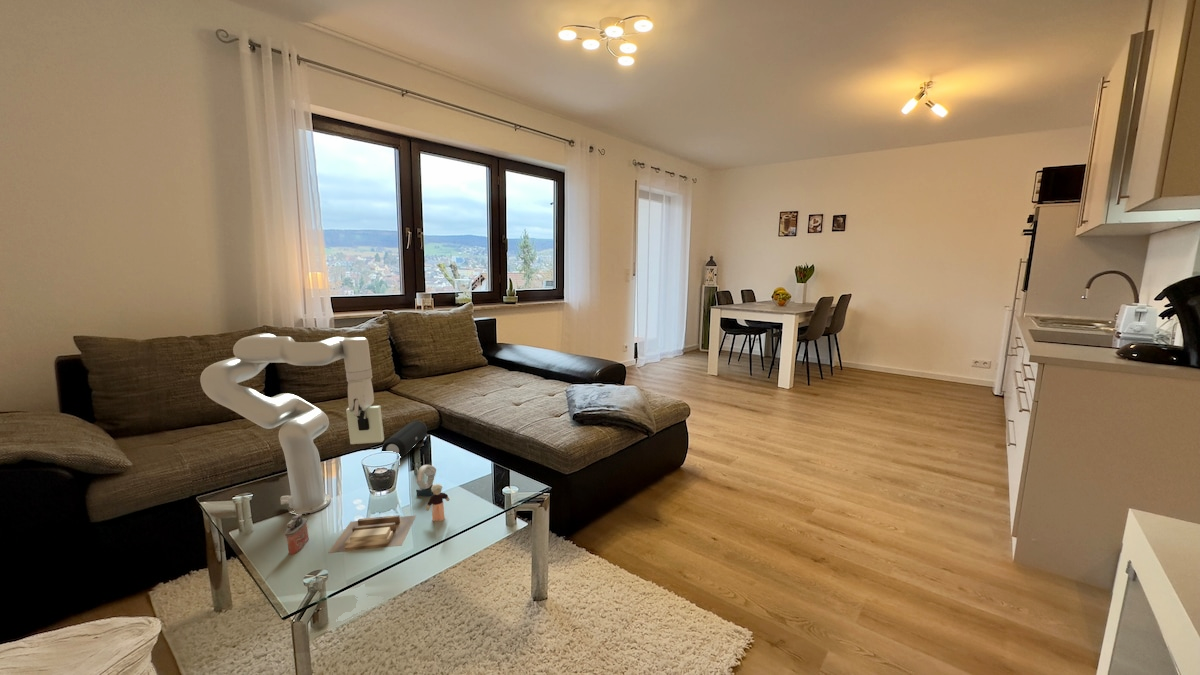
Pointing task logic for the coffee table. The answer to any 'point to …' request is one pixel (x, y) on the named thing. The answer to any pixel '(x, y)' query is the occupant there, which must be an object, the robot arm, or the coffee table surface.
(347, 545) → the lower birch offcut
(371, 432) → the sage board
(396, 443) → the portable speaker
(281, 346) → the robot arm
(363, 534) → the upper birch offcut
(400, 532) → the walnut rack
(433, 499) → the grandmother figurine
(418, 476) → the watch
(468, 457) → the coffee table surface
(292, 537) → the lighter
